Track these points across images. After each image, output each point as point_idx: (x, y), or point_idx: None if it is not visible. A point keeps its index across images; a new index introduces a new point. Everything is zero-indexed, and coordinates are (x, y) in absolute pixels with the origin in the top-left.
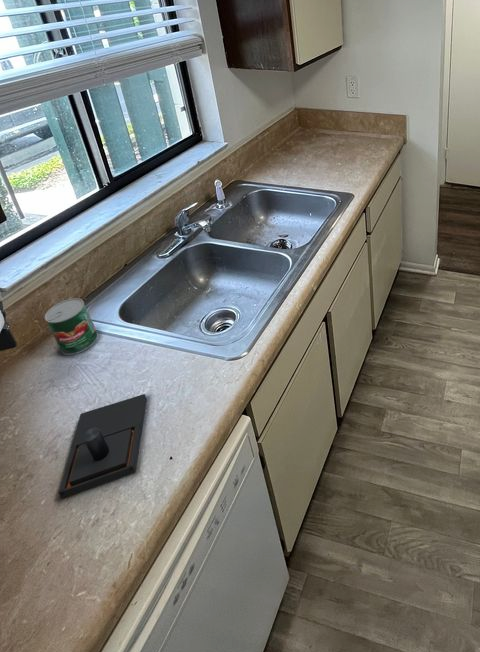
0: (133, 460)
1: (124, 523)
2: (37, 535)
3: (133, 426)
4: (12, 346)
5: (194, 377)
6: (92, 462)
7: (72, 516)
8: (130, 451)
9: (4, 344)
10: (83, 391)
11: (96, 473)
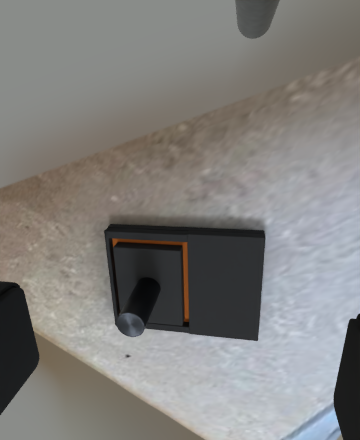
0: None
1: (55, 306)
2: (65, 203)
3: (189, 325)
4: (337, 407)
5: (268, 395)
6: (136, 277)
7: (80, 244)
8: None
9: (353, 414)
10: (349, 217)
11: (117, 282)
